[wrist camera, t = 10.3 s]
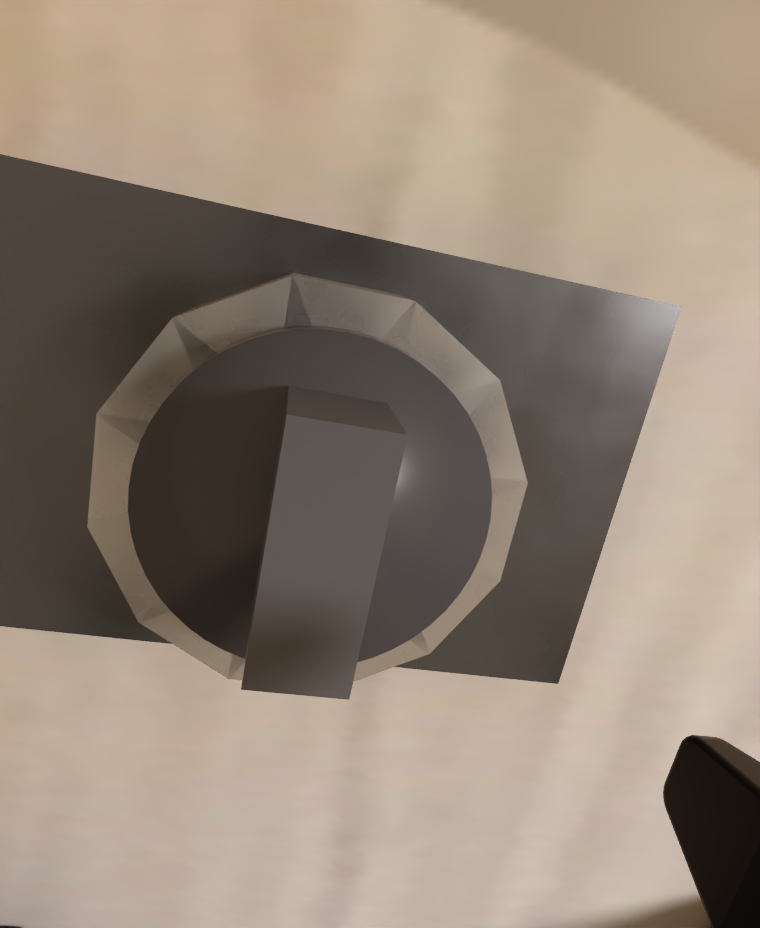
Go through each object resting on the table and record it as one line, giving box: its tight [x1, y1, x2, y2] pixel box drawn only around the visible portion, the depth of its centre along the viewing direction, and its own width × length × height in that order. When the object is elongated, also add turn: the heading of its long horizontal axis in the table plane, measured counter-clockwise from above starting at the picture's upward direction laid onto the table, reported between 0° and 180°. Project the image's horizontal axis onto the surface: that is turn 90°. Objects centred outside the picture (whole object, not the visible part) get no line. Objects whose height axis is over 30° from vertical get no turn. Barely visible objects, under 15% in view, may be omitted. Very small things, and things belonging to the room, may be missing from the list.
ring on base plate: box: [0, 154, 681, 684], centre depth 17 cm, size 18×12×5 cm, turn 78°
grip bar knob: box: [128, 326, 492, 699], centre depth 14 cm, size 8×8×6 cm
